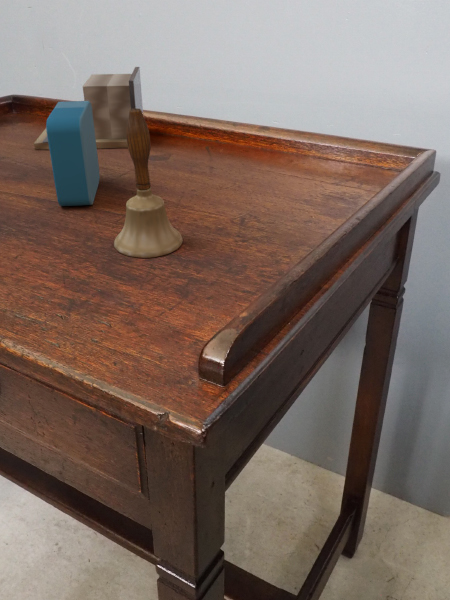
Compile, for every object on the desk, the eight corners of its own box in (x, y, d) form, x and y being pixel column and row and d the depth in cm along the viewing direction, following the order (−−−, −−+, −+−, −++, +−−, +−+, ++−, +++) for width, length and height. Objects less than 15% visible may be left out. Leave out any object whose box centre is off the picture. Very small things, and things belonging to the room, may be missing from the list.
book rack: (35, 149, 107) (23, 83, 102) (50, 129, 118) (41, 67, 113) (138, 147, 108) (133, 81, 102) (144, 127, 119) (139, 66, 113)
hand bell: (152, 264, 70) (141, 123, 62) (99, 247, 74) (82, 112, 66) (196, 238, 76) (191, 106, 68) (145, 223, 80) (134, 96, 72)
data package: (70, 179, 94) (59, 99, 88) (100, 178, 94) (91, 98, 88) (58, 210, 84) (44, 121, 78) (92, 208, 84) (80, 120, 78)
